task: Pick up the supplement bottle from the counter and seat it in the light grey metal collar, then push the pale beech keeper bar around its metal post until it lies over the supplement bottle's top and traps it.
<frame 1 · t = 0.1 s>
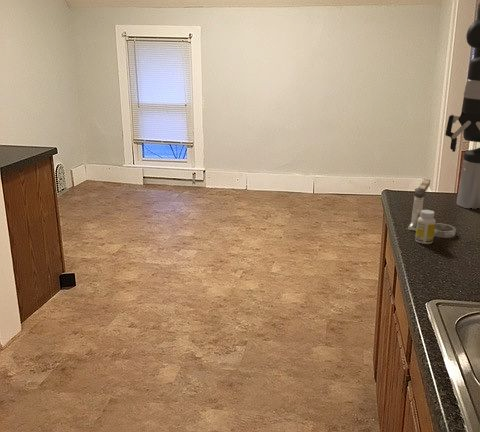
hand: (469, 152, 164), 29 cm above the worktop, fingers open, 8 cm apart
supplement bottle: (423, 241, 176), on the worktop
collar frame: (441, 233, 183), on the worktop
keeper bar: (423, 187, 188), point 12 cm above the worktop, hinge at 90.0°
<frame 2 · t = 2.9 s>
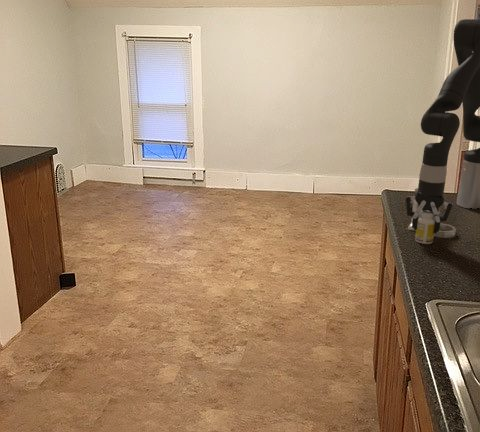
hand: (425, 230, 175), 4 cm above the worktop, fingers closed on supplement bottle, 5 cm apart
supplement bottle: (423, 241, 176), on the worktop, touching gripper
everything else where it was.
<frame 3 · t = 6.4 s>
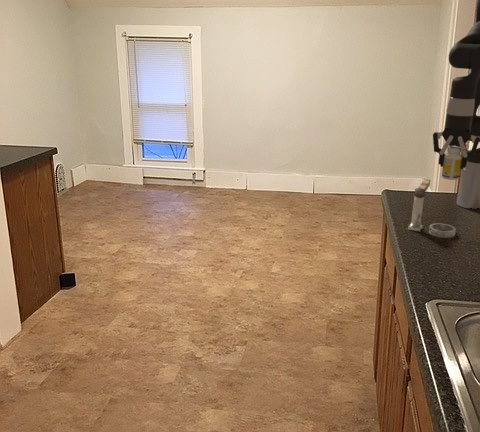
hand: (451, 167, 176), 22 cm above the worktop, fingers closed on supplement bottle, 5 cm apart
supplement bottle: (450, 178, 177), point 18 cm above the worktop, touching gripper
everything else where it was.
when the fingers open (5 cm above the worktop, at t = 9.9 s): supplement bottle drops 1 cm, resting in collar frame.
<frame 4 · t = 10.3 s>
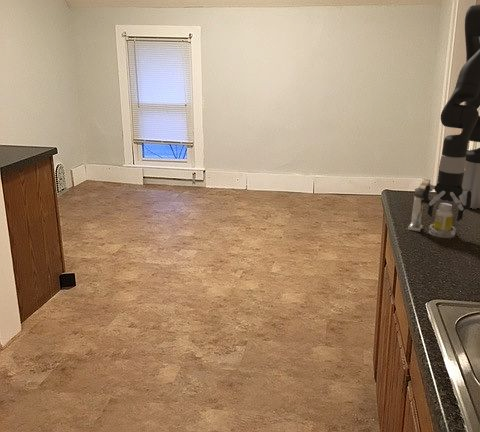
hand: (444, 218, 181), 5 cm above the worktop, fingers open, 8 cm apart
supplement bottle: (441, 233, 183), resting in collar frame
keeper bar: (423, 187, 188), point 12 cm above the worktop, hinge at 90.0°, touching hand
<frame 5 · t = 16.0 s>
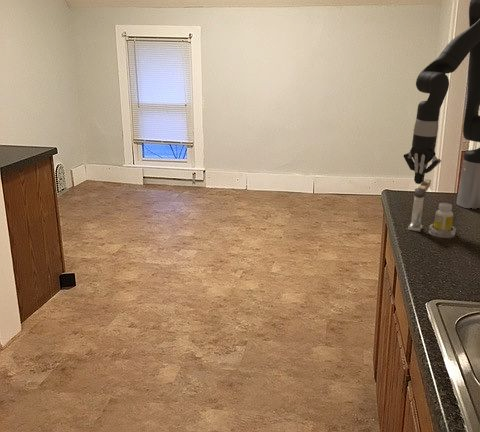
hand: (418, 183, 193), 12 cm above the worktop, fingers closed
keeper bar: (423, 187, 188), point 12 cm above the worktop, hinge at 89.0°, touching gripper
everything else where it was.
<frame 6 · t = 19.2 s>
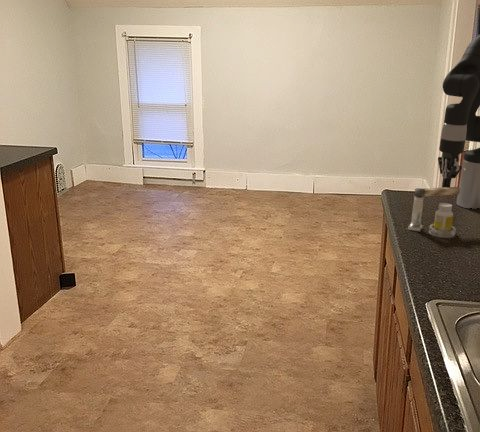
hand: (445, 188, 187), 13 cm above the worktop, fingers closed
keeper bar: (436, 191, 184), point 12 cm above the worktop, hinge at 40.3°, touching gripper
everything else where it was.
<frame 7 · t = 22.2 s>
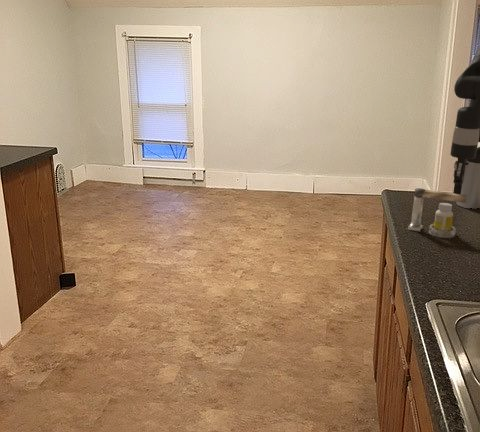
hand: (456, 195, 180), 13 cm above the worktop, fingers closed
keeper bar: (439, 195, 180), point 12 cm above the worktop, hinge at 2.4°
everything else where it was.
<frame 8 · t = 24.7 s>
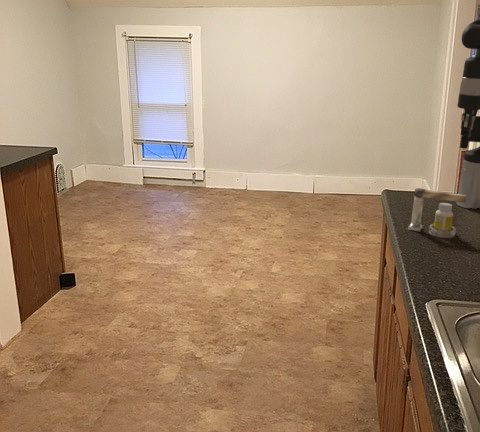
hand: (463, 147, 180), 27 cm above the worktop, fingers closed
nothing on the worktop moved.
at the end: supplement bottle 0.1 cm off-centre on the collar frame, point 0.0 cm above the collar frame's base; supplement bottle tilted 0°; keeper bar at +2° (first picture: +90°) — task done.
